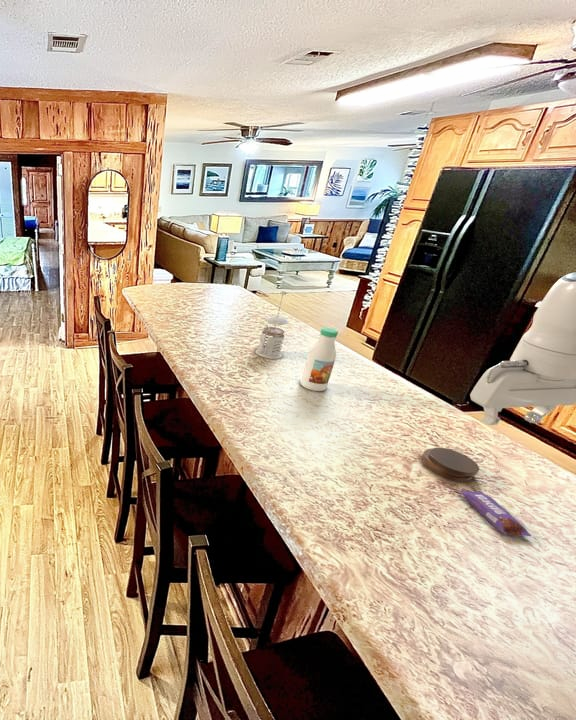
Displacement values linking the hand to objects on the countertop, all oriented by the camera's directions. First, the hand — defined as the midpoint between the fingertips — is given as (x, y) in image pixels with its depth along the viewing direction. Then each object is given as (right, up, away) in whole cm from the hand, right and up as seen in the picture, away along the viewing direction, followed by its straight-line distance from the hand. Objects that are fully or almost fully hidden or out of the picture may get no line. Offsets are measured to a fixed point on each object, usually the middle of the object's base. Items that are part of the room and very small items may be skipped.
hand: (509, 422), depth 77 cm
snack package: (0, -20, +4) cm, 20 cm away
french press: (-15, +15, +74) cm, 77 cm away
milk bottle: (-10, +4, +52) cm, 53 cm away
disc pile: (+2, -14, +16) cm, 21 cm away
